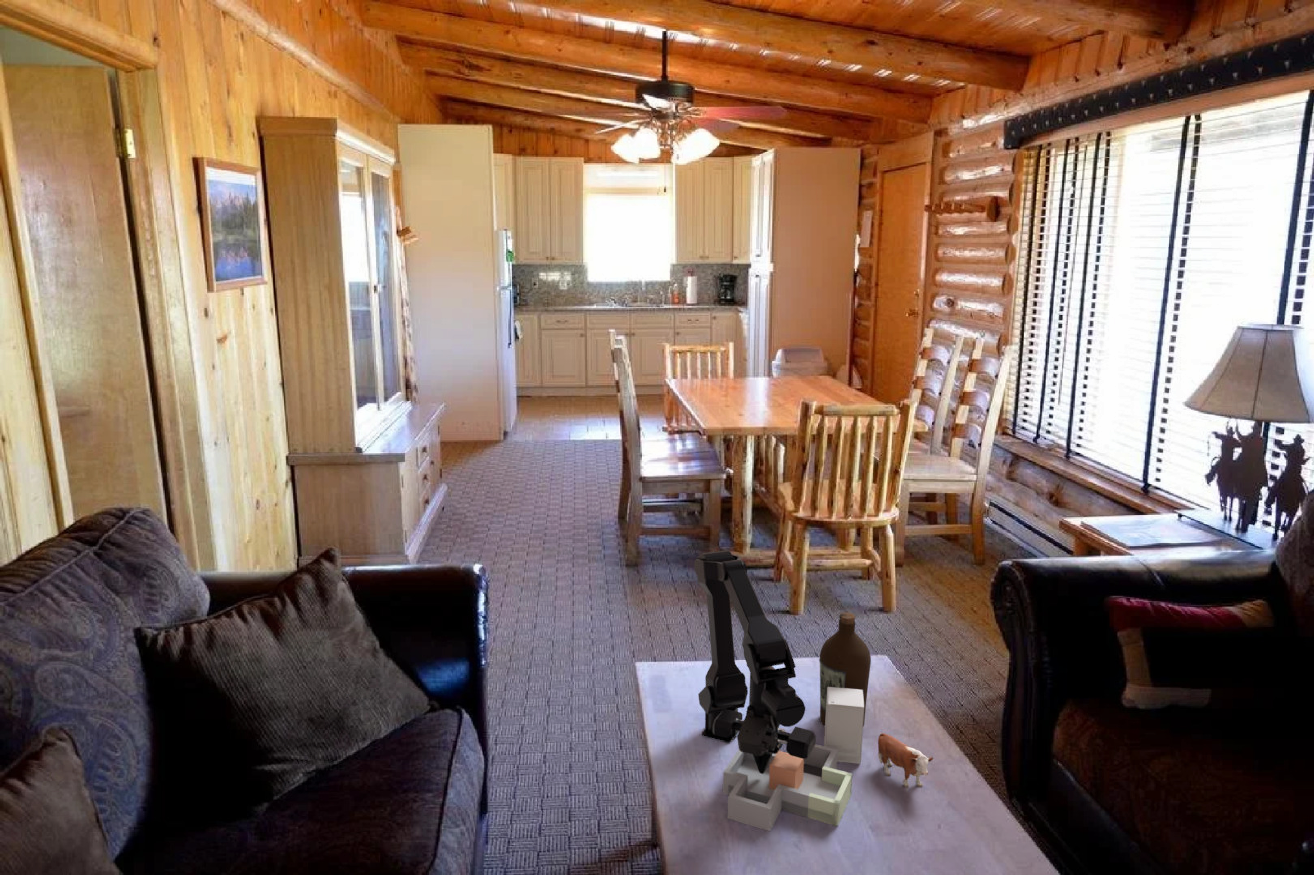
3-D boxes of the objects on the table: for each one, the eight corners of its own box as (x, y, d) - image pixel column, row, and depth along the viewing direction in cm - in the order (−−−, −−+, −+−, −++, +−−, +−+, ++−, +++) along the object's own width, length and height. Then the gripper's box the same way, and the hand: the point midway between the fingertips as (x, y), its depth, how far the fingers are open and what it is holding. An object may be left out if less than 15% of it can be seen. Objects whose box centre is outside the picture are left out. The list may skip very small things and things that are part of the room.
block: (768, 788, 164) (769, 764, 162) (777, 773, 168) (778, 750, 167) (794, 795, 161) (795, 771, 160) (802, 780, 166) (803, 757, 165)
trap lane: (709, 813, 160) (710, 791, 159) (752, 747, 180) (753, 728, 179) (827, 849, 150) (829, 826, 149) (859, 775, 170) (860, 755, 169)
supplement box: (861, 764, 174) (864, 707, 171) (823, 760, 175) (826, 703, 173) (860, 744, 181) (863, 688, 178) (824, 740, 183) (826, 685, 180)
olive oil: (840, 704, 196) (845, 600, 191) (877, 725, 188) (884, 617, 182) (806, 719, 190) (811, 613, 185) (843, 741, 182) (849, 631, 176)
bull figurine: (920, 802, 162) (923, 764, 161) (871, 765, 174) (873, 728, 172) (937, 796, 164) (940, 757, 163) (888, 758, 176) (890, 722, 174)
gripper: (701, 707, 160) (700, 782, 163) (799, 732, 152) (796, 811, 155) (724, 679, 170) (723, 751, 173) (818, 702, 161) (814, 777, 165)
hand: (762, 772), depth 166 cm, fingers closed
